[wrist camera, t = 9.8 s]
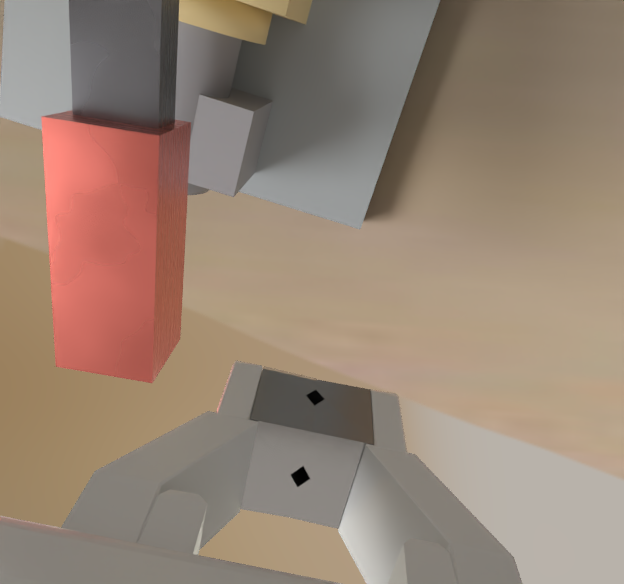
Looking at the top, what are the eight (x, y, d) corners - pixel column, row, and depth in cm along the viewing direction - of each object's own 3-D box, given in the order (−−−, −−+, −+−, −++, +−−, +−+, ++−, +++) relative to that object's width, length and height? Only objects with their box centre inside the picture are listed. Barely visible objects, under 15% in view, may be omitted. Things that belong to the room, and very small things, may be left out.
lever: (79, 321, 17) (37, 363, 15) (57, -330, 11) (-22, -425, 9) (196, 342, 17) (170, 386, 14) (237, -303, 11) (205, -393, 8)
